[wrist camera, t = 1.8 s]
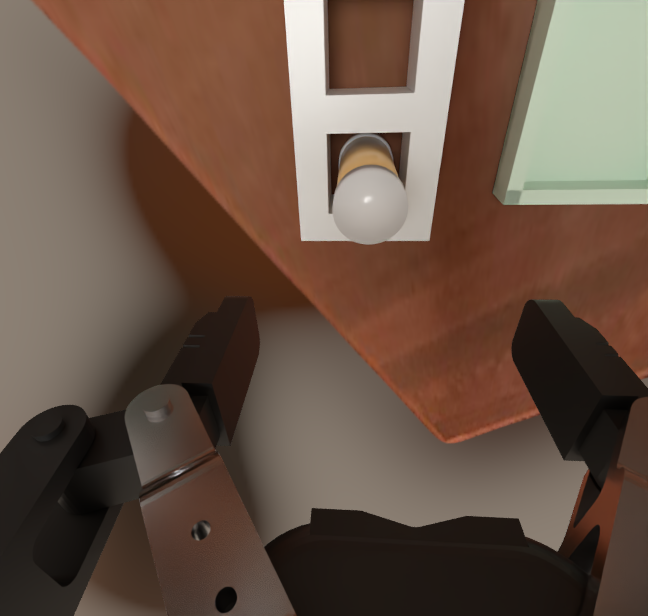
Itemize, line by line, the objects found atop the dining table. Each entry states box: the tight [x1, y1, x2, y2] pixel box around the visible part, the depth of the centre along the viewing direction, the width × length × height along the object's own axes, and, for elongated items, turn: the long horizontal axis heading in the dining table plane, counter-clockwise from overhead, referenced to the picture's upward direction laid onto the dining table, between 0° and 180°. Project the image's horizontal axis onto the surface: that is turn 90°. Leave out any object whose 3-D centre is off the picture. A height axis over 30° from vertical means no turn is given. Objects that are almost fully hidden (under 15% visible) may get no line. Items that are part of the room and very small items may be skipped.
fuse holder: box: [284, 0, 464, 241], centre depth 23 cm, size 16×9×4 cm, turn 2°
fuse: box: [332, 133, 408, 244], centre depth 23 cm, size 4×4×10 cm
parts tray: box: [492, 0, 648, 205], centre depth 22 cm, size 14×11×2 cm
